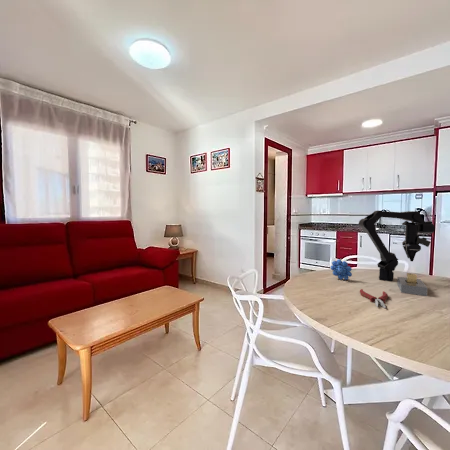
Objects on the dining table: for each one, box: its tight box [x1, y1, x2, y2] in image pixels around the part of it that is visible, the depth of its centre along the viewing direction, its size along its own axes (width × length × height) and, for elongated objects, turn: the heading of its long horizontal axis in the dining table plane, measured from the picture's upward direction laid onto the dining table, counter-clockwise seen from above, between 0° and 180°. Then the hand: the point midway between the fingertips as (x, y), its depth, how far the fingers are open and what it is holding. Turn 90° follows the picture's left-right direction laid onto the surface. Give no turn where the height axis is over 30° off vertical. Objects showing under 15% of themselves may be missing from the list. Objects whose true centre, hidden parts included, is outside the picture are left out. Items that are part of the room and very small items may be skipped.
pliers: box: [359, 288, 389, 309], centre depth 109 cm, size 12×20×3 cm, turn 158°
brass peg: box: [406, 272, 418, 284], centre depth 124 cm, size 4×4×8 cm
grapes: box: [330, 258, 353, 281], centre depth 141 cm, size 12×7×12 cm, turn 56°
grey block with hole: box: [396, 276, 428, 297], centre depth 124 cm, size 10×16×4 cm, turn 150°
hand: (410, 259), depth 140 cm, fingers open, 9 cm apart
